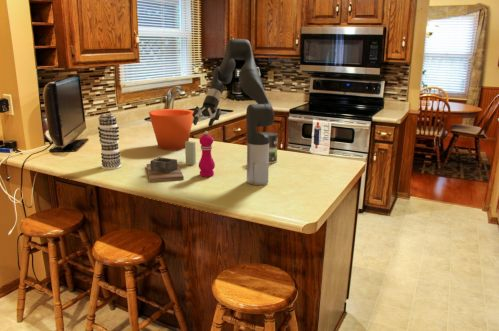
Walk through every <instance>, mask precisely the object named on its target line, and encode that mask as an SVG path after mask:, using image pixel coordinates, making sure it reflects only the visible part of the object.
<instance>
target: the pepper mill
mask: <svg viewBox="0 0 499 331" xmlns="http://www.w3.org/2000/svg"><path fill="white" fill-rule="evenodd" d="M198 140H199V144H200V150H201V157H200V159H199V162H198V169H199V170H200V171H199V176H200V177H202V178H211V176H212V177H214V175H215V170H214V169H215V168H216V163H215V161H214V159H213V158H214V157H213V156H212V149H213V143H214V138H213V136H212V135H210V134H209V131H207V130H205V131H204V132H203V135H201V136H200V137H199V139H198Z"/></svg>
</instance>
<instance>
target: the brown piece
mask: <svg viewBox="0 0 499 331" xmlns="http://www.w3.org/2000/svg"><path fill="white" fill-rule="evenodd" d="M146 169H147V170H146V171H147V174H148V177H149V181H150V183H158V182H169V181H170V182H172V181H184V180H185V179H184V178H185V177H184V175H183V173H182V170H181V169H180V167H179V164H178V159H175V158H168V157H167V158H166V157H157V158H154V159H151V160H150V163H146Z"/></svg>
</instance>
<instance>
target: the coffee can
mask: <svg viewBox="0 0 499 331" xmlns="http://www.w3.org/2000/svg"><path fill="white" fill-rule="evenodd" d="M259 132H260V131H259ZM260 133H262V134H265V135H268V136H269V165H271V164H275V163H277V162H278V137H279V133H278V132H274V131H262V132H260Z"/></svg>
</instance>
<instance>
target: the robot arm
mask: <svg viewBox="0 0 499 331" xmlns="http://www.w3.org/2000/svg"><path fill="white" fill-rule="evenodd" d="M225 46H226V47H225V50H224V54H223V59H222V61H221V63H220V65H219V66H216V67H215V68H214V69H213V71H212V82H211V84H210V87H209V90H208V91H207V93H206V95H205V98H204V100H203V102H202V106H201V107H199V106H198V105H197V106H196V107H195V108H194V110H193V111H194V112H193V114H192V115H193V121H192V124H193V125H194V126H197V125H198V122H199V120H200V119H201V118H203V117H209V118H210V119H209V121H208V123H207V125H208V126H209V127H210V128H211V127H212V126H213V124H214V122H215V121H219V120H220V116H221V113H222V110H221V108H220V107H218V106H219V104H220V101H221V98H222V96H223V94H224V90H225V85H227V84H230V83H231V82H232V79H233V72H234V70H235V68H236V60H242V61H244V64H243V65H242V67H241V69H240V70H239V74H238V81H239V83H240V84H239V85H240V87H241V90H242V91H243V92H244V93H245V95H247V96H248V97H250V99H252V100H253V101H254V102H256V103H251V104H248V105H247V108H246V112H245V113H246V115H245V116H246V117H245V118H246V139H247V140H246V141H247V142H246V148H247V149H246V150H247V151H246V182H247V184H249V185H253V186H263V185H268V184H269V167H270V164H269V136H268V135H265V134H262V133H260V131H258V130H257V128H259V127H263V128H264V127H270V126H272V125H273V124H274V123H275V122H274V121H275V113H274V112H275V111H274V109H273V105H272V103H271V102H270V100H269V97H268V95H267V93H266V90H265V88H264V85H263V81H262V77H261V75H260V73H259V70H258V67H257V64H256V62H255V56H254V53H253V47H252V44H251V42H250V41H249V40H248V39H246V38H245V39H244V38H231V39H229V40H228V41H227V42H226V45H225ZM224 84H225V85H224ZM214 114H215V115H214Z"/></svg>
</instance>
